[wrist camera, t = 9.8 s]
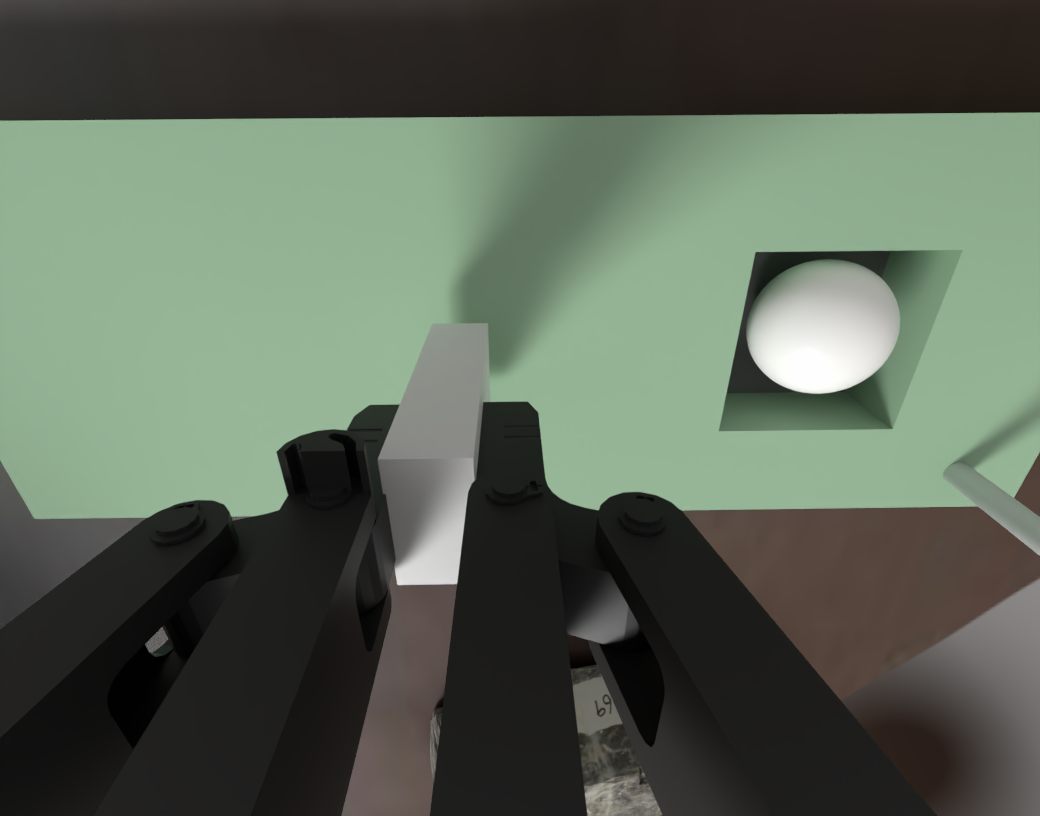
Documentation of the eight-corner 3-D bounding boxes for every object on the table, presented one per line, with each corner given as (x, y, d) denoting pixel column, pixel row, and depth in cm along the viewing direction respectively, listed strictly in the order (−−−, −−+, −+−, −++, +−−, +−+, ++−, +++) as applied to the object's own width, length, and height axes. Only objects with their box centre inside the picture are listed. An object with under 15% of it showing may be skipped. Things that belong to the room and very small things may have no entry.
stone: (551, 560, 28) (682, 709, 20) (598, 618, 33) (723, 762, 25) (351, 744, 26) (410, 994, 18) (429, 782, 30) (505, 999, 22)
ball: (878, 429, 14) (874, 374, 17) (929, 284, 12) (914, 251, 15) (726, 400, 16) (746, 354, 19) (748, 270, 14) (767, 242, 17)
